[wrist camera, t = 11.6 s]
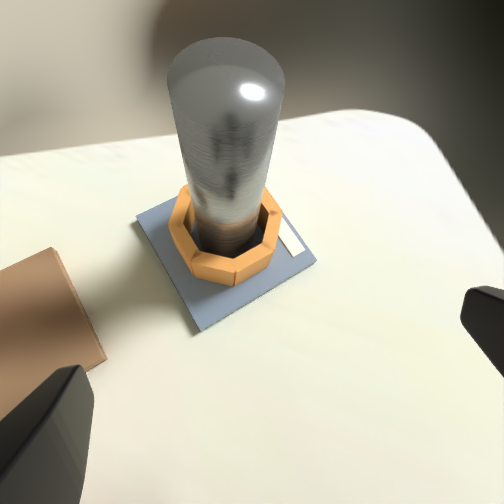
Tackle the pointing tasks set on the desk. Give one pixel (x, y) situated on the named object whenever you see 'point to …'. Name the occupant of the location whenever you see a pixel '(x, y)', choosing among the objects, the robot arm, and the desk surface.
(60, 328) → the board
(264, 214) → the socket plate
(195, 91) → the steel peg
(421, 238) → the desk surface
